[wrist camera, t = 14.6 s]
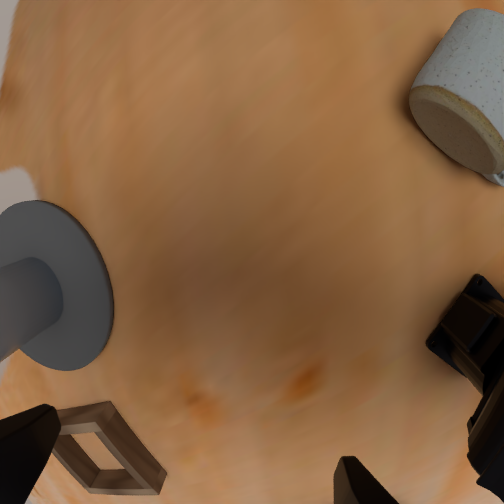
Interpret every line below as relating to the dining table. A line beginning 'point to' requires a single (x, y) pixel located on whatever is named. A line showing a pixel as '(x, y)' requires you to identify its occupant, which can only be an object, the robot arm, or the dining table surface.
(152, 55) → the dining table surface
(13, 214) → the rubber mat
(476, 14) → the ceramic mug
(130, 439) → the jug holder
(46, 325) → the jug
